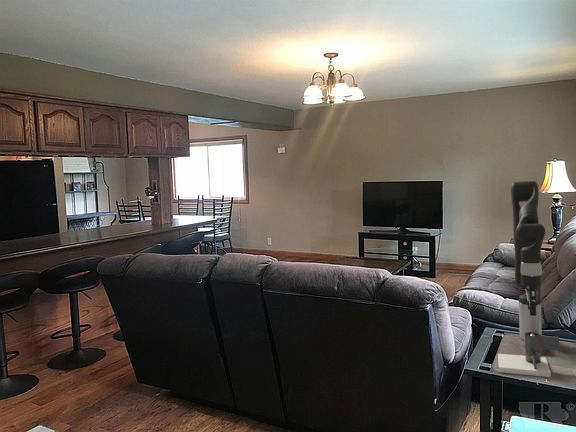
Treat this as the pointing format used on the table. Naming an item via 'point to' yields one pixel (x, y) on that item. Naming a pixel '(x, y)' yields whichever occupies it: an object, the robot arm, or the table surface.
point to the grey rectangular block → (541, 342)
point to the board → (522, 365)
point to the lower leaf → (533, 356)
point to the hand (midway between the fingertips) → (531, 312)
